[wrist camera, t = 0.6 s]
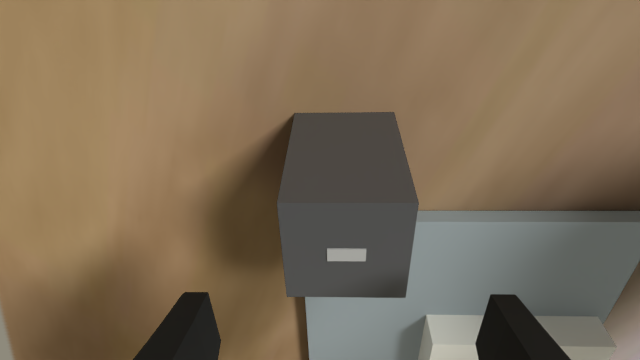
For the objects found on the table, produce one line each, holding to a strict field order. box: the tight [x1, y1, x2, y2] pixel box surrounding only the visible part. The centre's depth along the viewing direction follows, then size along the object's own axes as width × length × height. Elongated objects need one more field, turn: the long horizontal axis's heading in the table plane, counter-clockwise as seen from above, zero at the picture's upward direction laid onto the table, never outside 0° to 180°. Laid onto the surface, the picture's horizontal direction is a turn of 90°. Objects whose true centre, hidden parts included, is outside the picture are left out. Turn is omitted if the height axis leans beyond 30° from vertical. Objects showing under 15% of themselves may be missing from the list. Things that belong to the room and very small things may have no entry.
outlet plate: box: [305, 211, 640, 360], centre depth 22 cm, size 16×16×3 cm
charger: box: [277, 112, 419, 298], centre depth 15 cm, size 4×4×6 cm
